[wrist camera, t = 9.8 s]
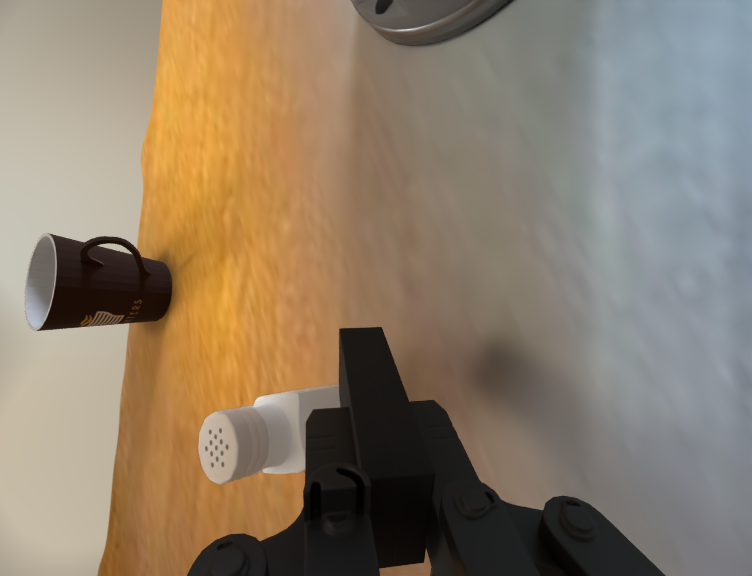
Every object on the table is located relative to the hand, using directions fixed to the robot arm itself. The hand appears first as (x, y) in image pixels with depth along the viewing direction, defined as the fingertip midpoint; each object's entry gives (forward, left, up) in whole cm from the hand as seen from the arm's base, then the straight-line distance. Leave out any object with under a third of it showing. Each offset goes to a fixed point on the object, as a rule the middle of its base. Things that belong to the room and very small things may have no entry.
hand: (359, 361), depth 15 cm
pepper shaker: (+9, +3, -9) cm, 13 cm away
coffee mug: (+32, -12, -9) cm, 36 cm away
